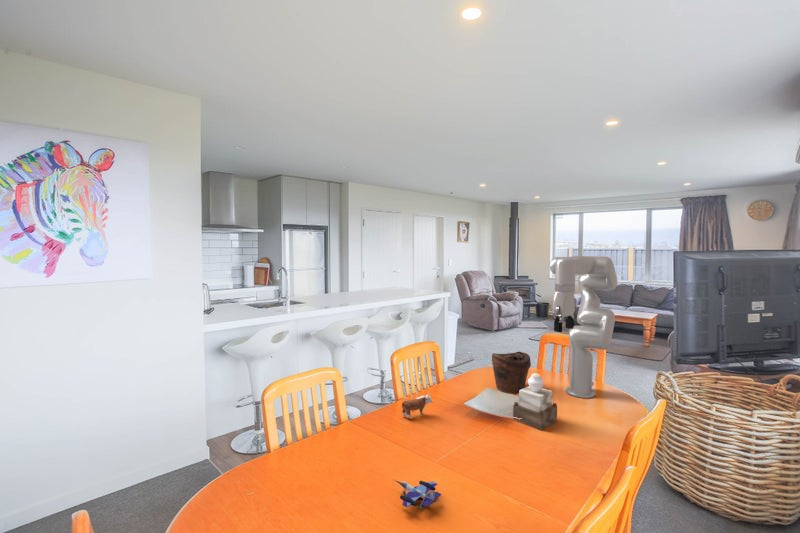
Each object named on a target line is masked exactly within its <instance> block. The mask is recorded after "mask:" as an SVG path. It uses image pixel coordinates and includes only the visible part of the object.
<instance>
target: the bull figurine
mask: <svg viewBox="0 0 800 533" xmlns="http://www.w3.org/2000/svg"><path fill="white" fill-rule="evenodd" d="M433 402H434V400H433V399H432V398H431V396H430V395H429V394H425V395H421V396H418V397H416V398H413V399H412V398H411V399H409V400H408V399H407V400H404V401H403V402H402V403H401V409H402V410H401V411H402V417H404V418H406V417H409V419H411V420H413V419H414V418H413V416H412V415H411V412H413V413H414V412H415V411H417V410H418V412H419V413H418V414H419V416H420V417H423V410H424V409H425V407H426V406H427V404H430V403H433Z"/></svg>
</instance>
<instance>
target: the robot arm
mask: <svg viewBox="0 0 800 533" xmlns="http://www.w3.org/2000/svg"><path fill="white" fill-rule="evenodd" d="M549 269H550V273H552V274H553V275H554V276H555V277H554V295H553V301H552V302H553V303H552V319H553V332H555V333H556V332H557V333H562V332H563V318H565V329H569V330H568V341H569V349H570V353H569V356H570V357H569V386H567V387H565V392H566V393H567V394H568V395H570V396H572V397H576V398H581V399H590V398H594V397H596V391H595V390H594V389H593V386H594V385H595V382H594V381H593V367H594V365H593V362H594V358H593V355H592V352H591V350H590V349H594V350H600V351H601V350H602V351H606V350H608V349H610V345H611V343H612V339H613V338H612V336H613V332H614V329H615V322H616V321H615V320H616V316H615V312H614V311H613V310H611V309H609V308H602V307H600V306H601V299H600V297H599V296H598V295H597V293H595V291H594V290H596V291H605V292H606V291H608V292H609V291H610V292H611V291H614V290H615V289H616V288H617V286H618V277H617V272H616V267H615V265H614V261H613V260H612V259H611V258H610V257H609V256H598V255H595V256H594V255H593V256H591V255H582V256H581V255H578V256H577V255H576V256H575V255H574V256H554V257H553V258H552V259H551V260H550V263H549ZM576 276H577V284H578V286H577V287H578V289H579V294H580V303H579V308H578V312H577V315H576V316H577V317H576V322H577V323H578V325H574V324H575V321H574V319H575V314H576V313H575V312H576V307H575V293H576Z"/></svg>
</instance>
